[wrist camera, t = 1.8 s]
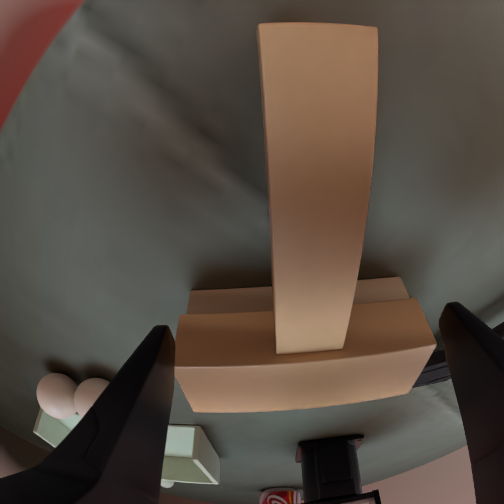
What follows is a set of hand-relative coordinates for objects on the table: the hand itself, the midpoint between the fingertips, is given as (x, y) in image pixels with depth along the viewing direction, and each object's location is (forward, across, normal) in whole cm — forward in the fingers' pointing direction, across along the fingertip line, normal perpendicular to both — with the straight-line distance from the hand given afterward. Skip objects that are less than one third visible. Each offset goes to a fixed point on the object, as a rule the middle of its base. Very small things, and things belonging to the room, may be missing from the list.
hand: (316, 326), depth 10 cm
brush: (+4, 0, -1) cm, 4 cm away
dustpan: (+4, +16, +28) cm, 32 cm away
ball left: (+2, +17, +11) cm, 20 cm away
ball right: (+2, +13, +11) cm, 17 cm away
